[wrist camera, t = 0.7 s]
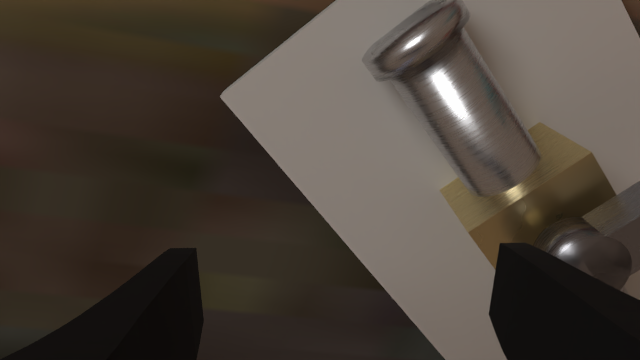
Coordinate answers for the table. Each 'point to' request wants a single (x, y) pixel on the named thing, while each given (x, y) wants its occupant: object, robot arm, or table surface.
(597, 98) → the mounting board
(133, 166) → the table surface
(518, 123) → the valve body
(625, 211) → the valve lever
